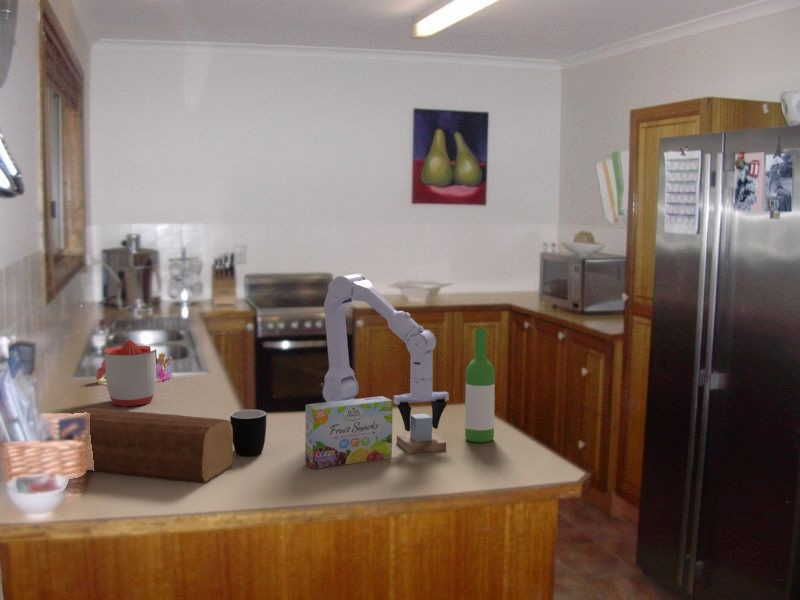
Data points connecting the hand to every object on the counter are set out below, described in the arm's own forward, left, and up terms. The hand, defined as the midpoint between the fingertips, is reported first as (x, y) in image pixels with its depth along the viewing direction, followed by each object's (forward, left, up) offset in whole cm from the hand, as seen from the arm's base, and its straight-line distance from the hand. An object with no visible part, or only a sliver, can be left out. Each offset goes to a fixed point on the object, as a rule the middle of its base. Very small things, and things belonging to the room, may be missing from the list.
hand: (421, 429), depth 224 cm
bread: (-68, +5, -5) cm, 69 cm away
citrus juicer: (-69, +74, -5) cm, 101 cm away
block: (0, 0, -3) cm, 3 cm away
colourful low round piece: (-67, +110, -5) cm, 129 cm away
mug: (-44, +10, -5) cm, 45 cm away
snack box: (-21, -6, -5) cm, 22 cm away
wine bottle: (+17, +1, -5) cm, 18 cm away
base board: (0, 0, -5) cm, 5 cm away
